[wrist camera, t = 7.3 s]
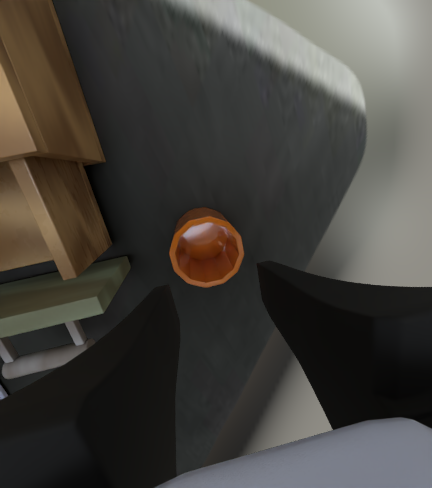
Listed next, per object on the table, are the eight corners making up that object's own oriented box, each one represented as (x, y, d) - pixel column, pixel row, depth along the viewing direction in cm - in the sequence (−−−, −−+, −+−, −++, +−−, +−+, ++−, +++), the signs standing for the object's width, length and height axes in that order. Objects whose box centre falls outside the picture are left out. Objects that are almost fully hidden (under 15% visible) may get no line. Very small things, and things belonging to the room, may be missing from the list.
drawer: (146, 312, 21) (129, 372, 15) (13, 344, 20) (-68, 423, 14) (64, 76, 15) (-29, 3, 9) (-131, 111, 14) (-391, 59, 8)
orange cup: (234, 254, 21) (248, 277, 17) (181, 267, 21) (180, 293, 16) (224, 201, 20) (236, 210, 15) (167, 214, 20) (161, 227, 15)
